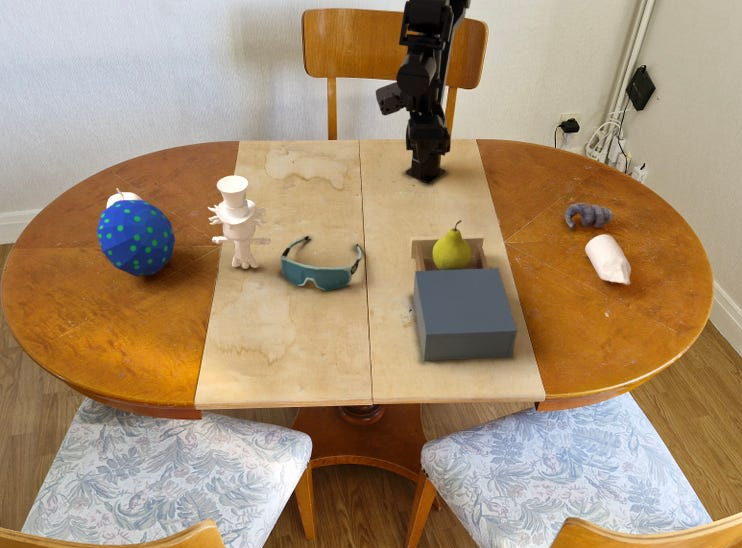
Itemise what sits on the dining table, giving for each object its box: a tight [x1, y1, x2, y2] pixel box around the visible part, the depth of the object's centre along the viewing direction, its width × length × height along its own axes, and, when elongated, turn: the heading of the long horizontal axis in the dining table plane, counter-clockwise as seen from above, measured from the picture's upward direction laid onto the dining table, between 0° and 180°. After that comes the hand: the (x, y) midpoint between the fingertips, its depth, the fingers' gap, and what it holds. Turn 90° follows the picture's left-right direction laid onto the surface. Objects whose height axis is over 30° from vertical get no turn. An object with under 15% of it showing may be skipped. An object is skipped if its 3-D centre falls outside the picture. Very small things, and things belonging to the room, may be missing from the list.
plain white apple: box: [106, 187, 143, 209], centre depth 133 cm, size 7×7×8 cm
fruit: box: [433, 219, 471, 270], centre depth 122 cm, size 7×7×12 cm
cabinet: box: [412, 267, 518, 362], centre depth 117 cm, size 16×15×6 cm
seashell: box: [563, 202, 615, 230], centre depth 138 cm, size 5×5×10 cm
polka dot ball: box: [96, 199, 176, 278], centre depth 124 cm, size 14×14×15 cm
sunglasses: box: [280, 235, 362, 292], centre depth 128 cm, size 14×15×5 cm
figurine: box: [207, 175, 271, 270], centre depth 121 cm, size 10×8×18 cm
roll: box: [584, 234, 632, 286], centre depth 127 cm, size 6×12×6 cm, turn 8°
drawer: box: [409, 233, 489, 271], centre depth 125 cm, size 16×13×4 cm
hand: (418, 149), depth 135 cm, fingers open, 9 cm apart
